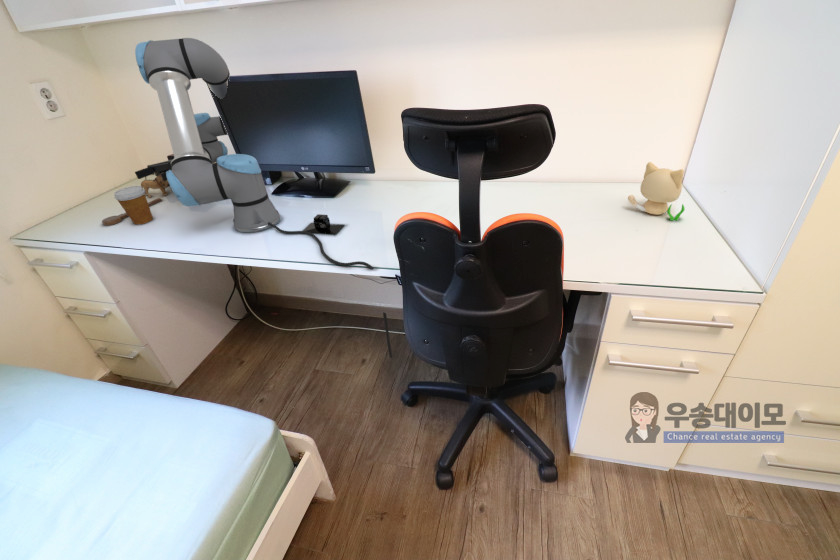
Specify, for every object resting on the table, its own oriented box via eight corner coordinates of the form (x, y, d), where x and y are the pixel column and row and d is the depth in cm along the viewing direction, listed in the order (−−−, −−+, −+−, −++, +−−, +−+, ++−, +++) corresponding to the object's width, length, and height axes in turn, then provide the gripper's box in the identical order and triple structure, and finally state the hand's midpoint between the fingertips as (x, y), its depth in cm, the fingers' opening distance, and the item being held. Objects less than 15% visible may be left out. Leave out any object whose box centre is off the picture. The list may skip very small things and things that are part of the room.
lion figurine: (178, 190, 173) (169, 170, 168) (175, 194, 168) (166, 173, 163) (142, 195, 170) (132, 175, 165) (137, 199, 166) (127, 179, 161)
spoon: (165, 201, 162) (164, 197, 161) (110, 226, 144) (108, 222, 143) (155, 200, 164) (153, 196, 163) (99, 224, 146) (97, 221, 145)
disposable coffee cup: (123, 224, 144) (106, 193, 138) (148, 214, 151) (133, 184, 144) (138, 228, 140) (122, 196, 134) (163, 217, 147) (148, 187, 140)
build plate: (301, 233, 128) (297, 220, 125) (312, 223, 133) (308, 210, 131) (335, 235, 124) (332, 221, 122) (345, 225, 130) (342, 212, 128)
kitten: (689, 215, 118) (705, 166, 110) (670, 225, 114) (686, 175, 105) (641, 201, 129) (653, 155, 120) (623, 210, 124) (634, 163, 116)
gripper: (221, 169, 160) (178, 187, 143) (176, 167, 168) (131, 184, 152) (214, 150, 156) (169, 167, 139) (169, 149, 164) (121, 165, 148)
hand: (149, 176), depth 145 cm, fingers open, 13 cm apart
